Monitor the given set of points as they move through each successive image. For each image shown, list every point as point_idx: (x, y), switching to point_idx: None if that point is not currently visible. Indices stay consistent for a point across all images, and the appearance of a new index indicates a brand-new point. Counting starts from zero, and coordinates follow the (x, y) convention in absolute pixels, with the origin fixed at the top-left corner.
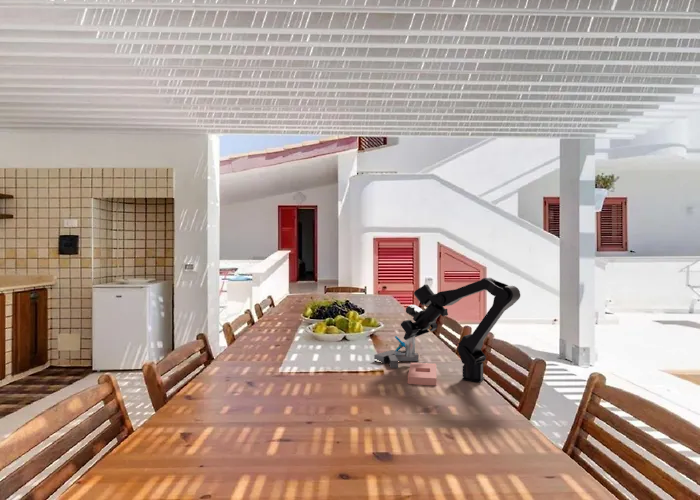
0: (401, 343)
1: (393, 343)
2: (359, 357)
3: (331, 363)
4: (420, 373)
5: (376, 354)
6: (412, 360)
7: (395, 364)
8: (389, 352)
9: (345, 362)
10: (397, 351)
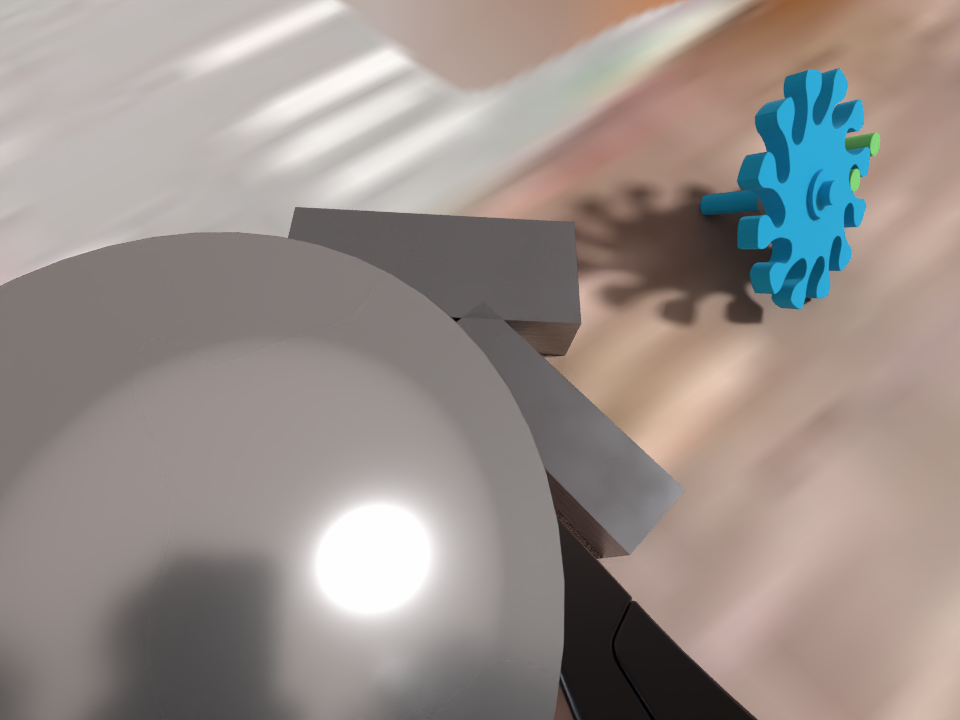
0: (764, 197)
1: (892, 70)
2: (365, 114)
3: (92, 77)
4: None
5: (314, 216)
6: (556, 505)
7: None
8: (470, 257)
9: (170, 121)
10: (565, 290)
